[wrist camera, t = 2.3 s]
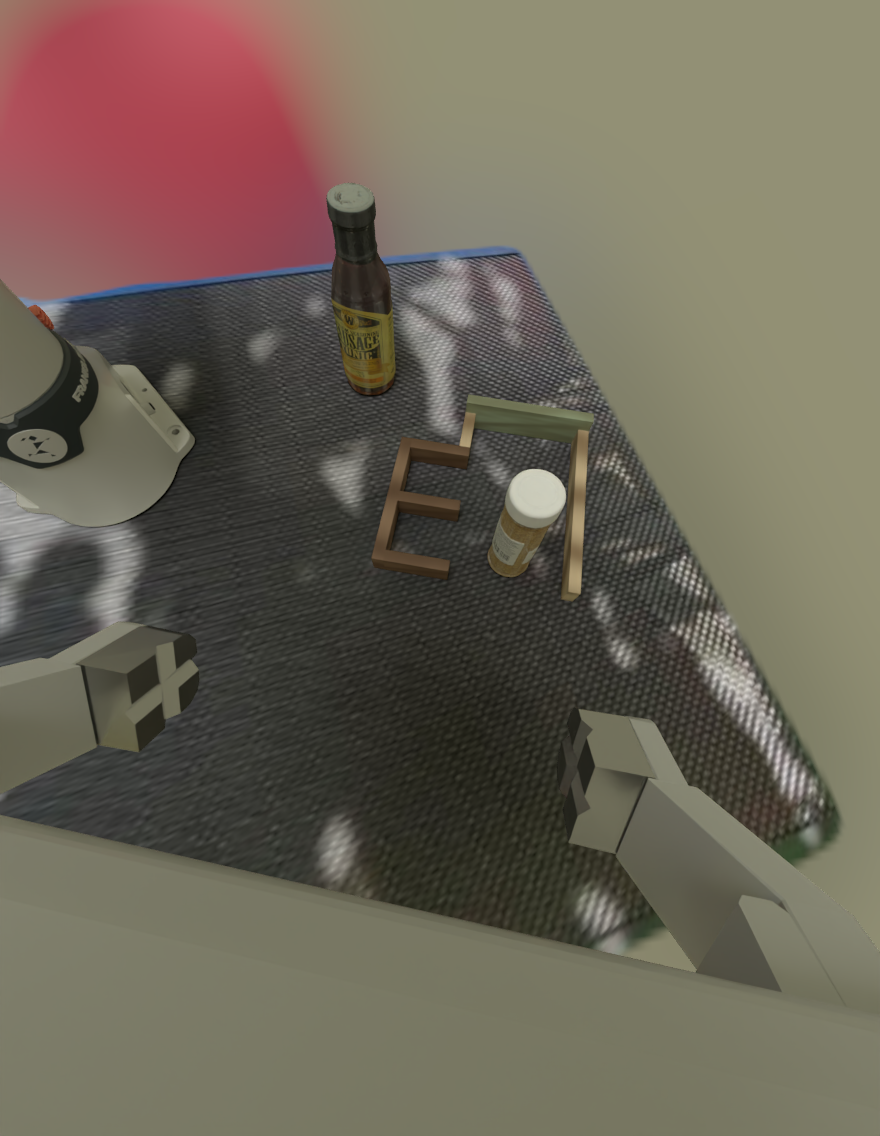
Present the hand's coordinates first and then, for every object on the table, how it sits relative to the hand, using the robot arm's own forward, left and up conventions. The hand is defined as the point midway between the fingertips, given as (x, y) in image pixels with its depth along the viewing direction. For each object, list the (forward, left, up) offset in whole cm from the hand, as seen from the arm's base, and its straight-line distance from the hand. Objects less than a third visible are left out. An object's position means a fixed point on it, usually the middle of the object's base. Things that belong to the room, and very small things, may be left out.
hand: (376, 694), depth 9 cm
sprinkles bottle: (-10, +17, -32) cm, 37 cm away
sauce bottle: (-39, +15, -32) cm, 52 cm away
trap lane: (-17, +19, -32) cm, 41 cm away
